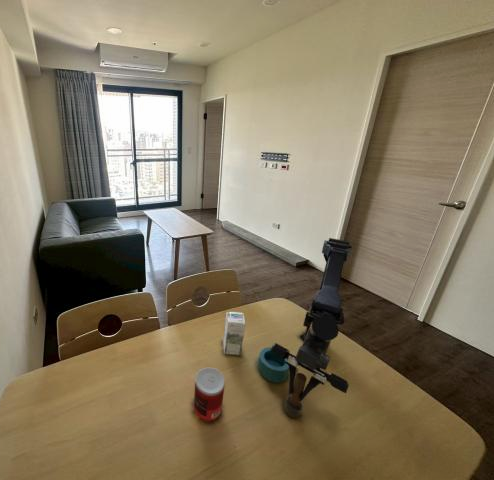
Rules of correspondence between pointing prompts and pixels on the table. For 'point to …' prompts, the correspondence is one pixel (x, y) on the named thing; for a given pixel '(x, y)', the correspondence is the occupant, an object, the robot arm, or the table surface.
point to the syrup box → (233, 333)
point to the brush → (295, 397)
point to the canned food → (208, 394)
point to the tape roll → (272, 366)
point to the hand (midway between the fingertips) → (294, 397)
